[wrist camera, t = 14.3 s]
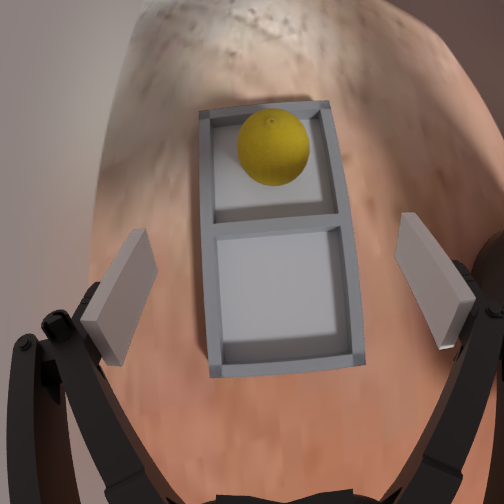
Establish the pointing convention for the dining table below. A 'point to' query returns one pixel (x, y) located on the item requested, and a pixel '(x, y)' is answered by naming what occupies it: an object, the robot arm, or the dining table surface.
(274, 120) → the lemon
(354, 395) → the dining table surface
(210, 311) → the grey divided tray
